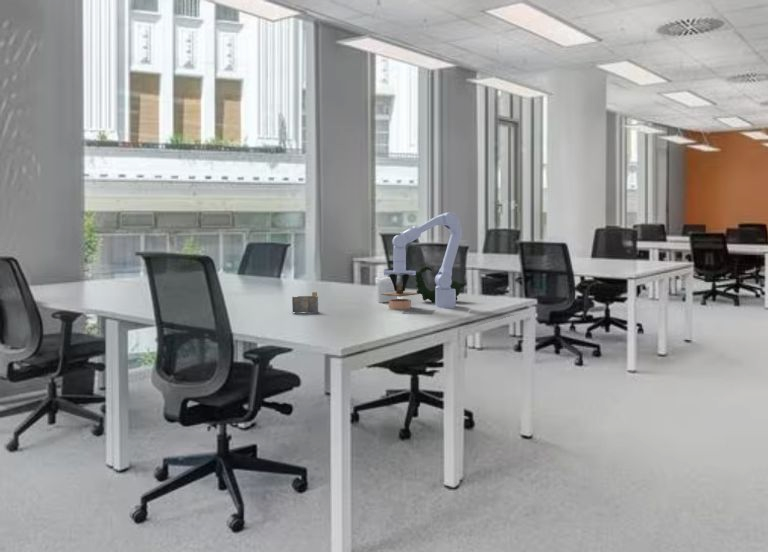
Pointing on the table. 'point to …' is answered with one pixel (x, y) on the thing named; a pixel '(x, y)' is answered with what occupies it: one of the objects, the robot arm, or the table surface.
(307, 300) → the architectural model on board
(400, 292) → the lid
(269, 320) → the table surface
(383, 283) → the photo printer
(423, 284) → the toy figurine
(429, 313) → the mat
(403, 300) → the bowl
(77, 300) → the table surface
